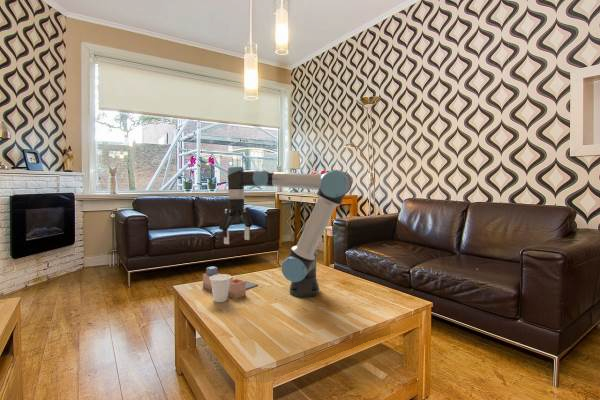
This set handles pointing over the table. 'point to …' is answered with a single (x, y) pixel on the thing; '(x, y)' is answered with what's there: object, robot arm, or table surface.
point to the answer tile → (250, 285)
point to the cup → (220, 287)
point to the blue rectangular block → (211, 271)
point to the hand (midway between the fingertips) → (237, 241)
